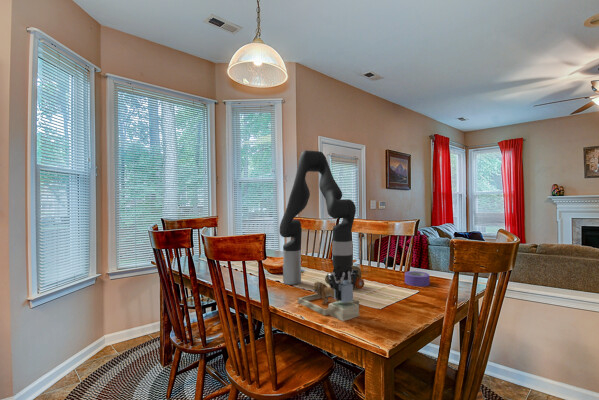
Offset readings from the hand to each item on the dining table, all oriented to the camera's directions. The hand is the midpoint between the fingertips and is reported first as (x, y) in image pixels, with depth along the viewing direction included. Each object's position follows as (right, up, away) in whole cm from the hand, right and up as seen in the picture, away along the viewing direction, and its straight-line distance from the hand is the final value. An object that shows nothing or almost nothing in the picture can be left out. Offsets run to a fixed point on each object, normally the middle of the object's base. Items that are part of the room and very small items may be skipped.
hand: (343, 298), depth 112 cm
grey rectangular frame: (-2, -6, +9) cm, 11 cm away
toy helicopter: (+6, -7, +34) cm, 35 cm away
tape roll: (+44, -6, +41) cm, 60 cm away
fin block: (0, 0, 0) cm, 0 cm away
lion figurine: (-4, -6, +11) cm, 13 cm away
